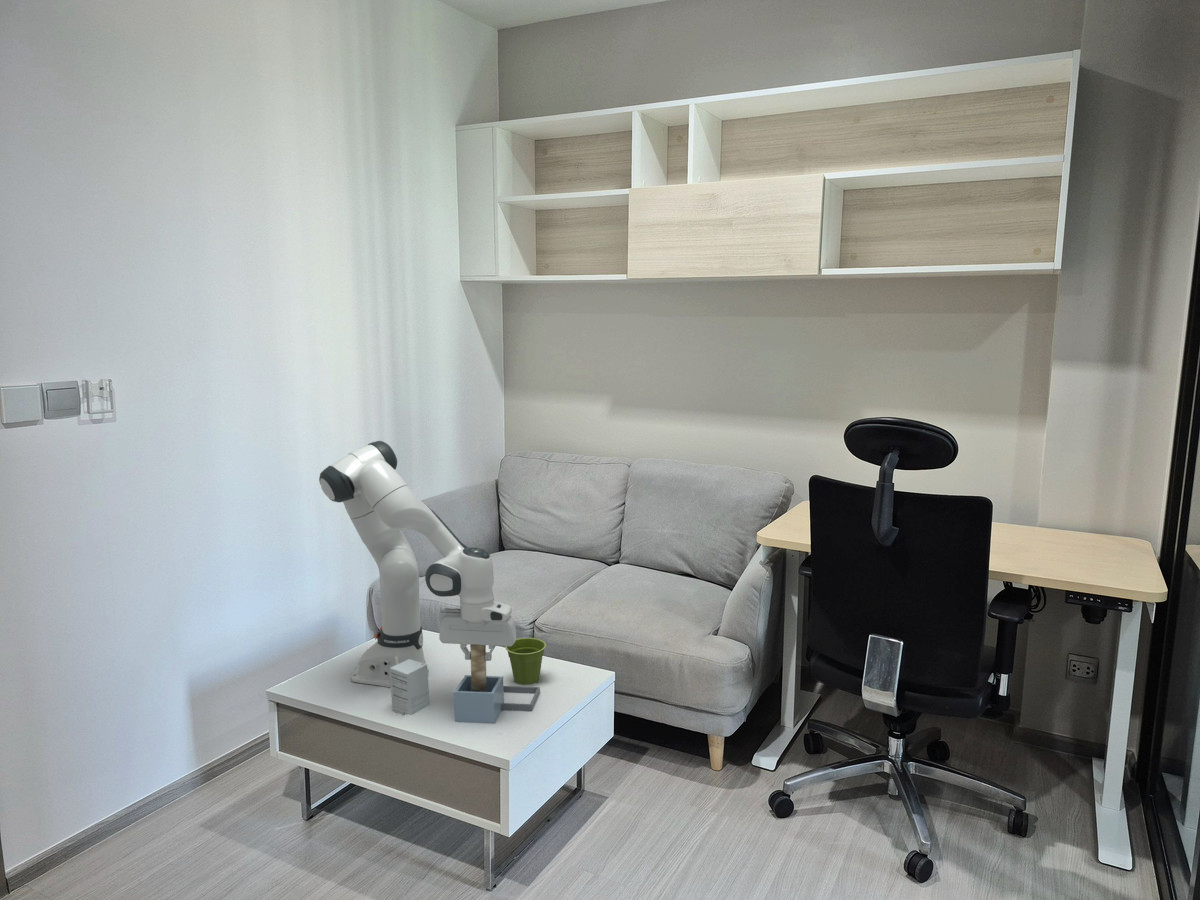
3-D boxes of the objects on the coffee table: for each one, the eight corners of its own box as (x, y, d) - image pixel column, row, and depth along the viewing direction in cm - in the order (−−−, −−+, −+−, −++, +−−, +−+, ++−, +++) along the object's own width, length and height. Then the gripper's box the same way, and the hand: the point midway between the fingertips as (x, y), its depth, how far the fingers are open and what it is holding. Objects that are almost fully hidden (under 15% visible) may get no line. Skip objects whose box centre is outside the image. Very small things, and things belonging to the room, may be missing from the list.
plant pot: (498, 686, 242) (497, 649, 241) (521, 670, 253) (519, 635, 251) (533, 694, 237) (532, 656, 235) (554, 678, 247) (553, 641, 245)
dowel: (469, 699, 222) (468, 645, 220) (473, 692, 226) (472, 639, 224) (484, 699, 221) (483, 646, 219) (488, 693, 225) (487, 640, 223)
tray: (491, 712, 226) (490, 703, 226) (501, 693, 237) (500, 685, 237) (531, 713, 225) (531, 705, 224) (540, 695, 236) (539, 687, 235)
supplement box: (411, 701, 234) (409, 658, 232) (430, 707, 230) (428, 664, 228) (391, 711, 228) (388, 667, 226) (410, 718, 224) (407, 673, 222)
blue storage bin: (455, 724, 220) (453, 692, 218) (466, 706, 230) (465, 675, 229) (494, 726, 218) (493, 693, 217) (504, 707, 229) (503, 676, 227)
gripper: (435, 612, 218) (436, 662, 220) (512, 615, 216) (513, 666, 218) (442, 603, 224) (443, 653, 226) (517, 607, 222) (518, 656, 224)
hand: (478, 659), depth 222 cm, fingers closed on dowel, 4 cm apart
